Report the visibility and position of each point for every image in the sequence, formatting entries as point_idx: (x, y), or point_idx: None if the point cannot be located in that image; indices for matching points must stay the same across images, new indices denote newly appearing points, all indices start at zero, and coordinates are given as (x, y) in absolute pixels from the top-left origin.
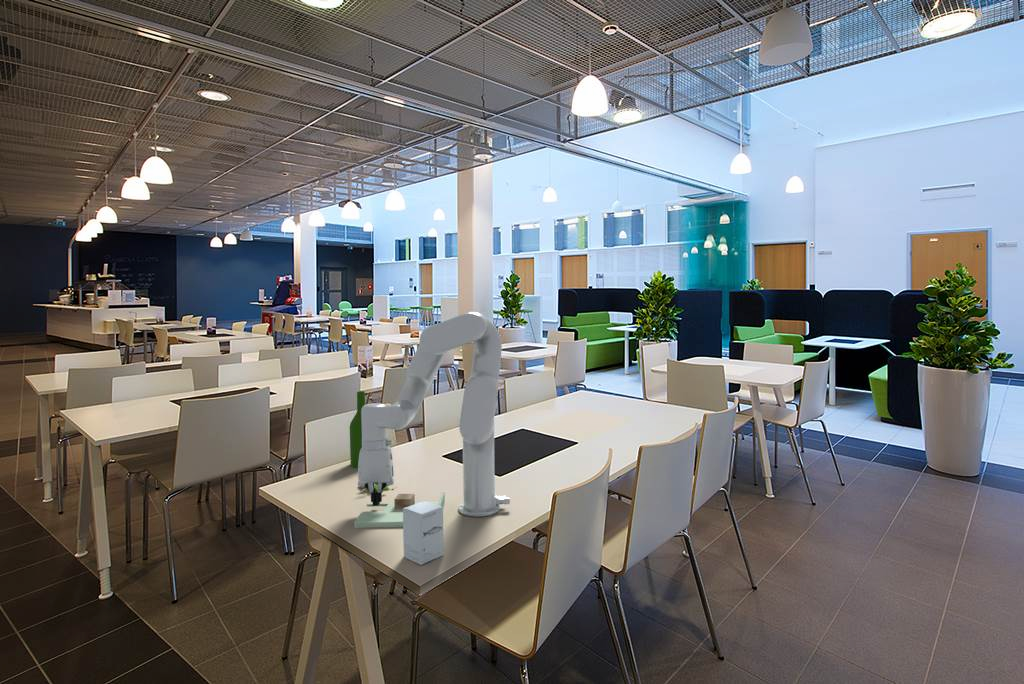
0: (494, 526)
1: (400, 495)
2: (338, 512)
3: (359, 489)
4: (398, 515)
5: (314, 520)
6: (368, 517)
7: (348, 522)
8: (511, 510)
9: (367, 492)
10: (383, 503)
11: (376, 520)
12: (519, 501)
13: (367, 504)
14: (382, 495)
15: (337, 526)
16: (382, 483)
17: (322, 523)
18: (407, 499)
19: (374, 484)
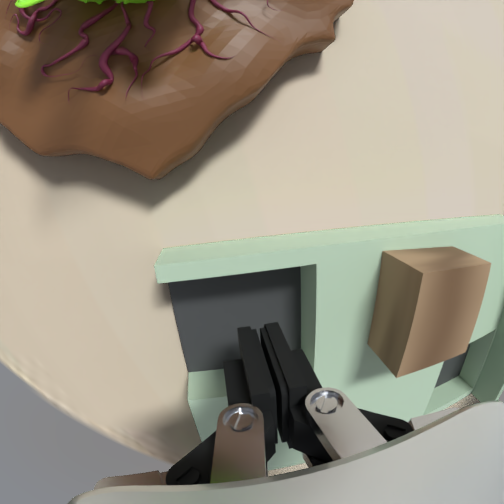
0: None
1: (432, 307)
2: (20, 272)
3: (24, 14)
4: (383, 402)
5: (3, 360)
6: None
7: (139, 392)
8: None
9: (78, 33)
10: (281, 259)
11: (300, 455)
12: None
13: (161, 282)
14: (215, 69)
15: (121, 421)
16: (365, 444)
17: (47, 391)
18: (452, 355)
19: (264, 452)
